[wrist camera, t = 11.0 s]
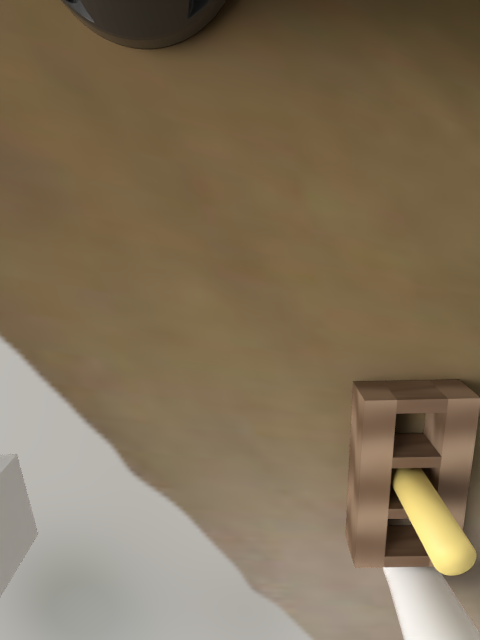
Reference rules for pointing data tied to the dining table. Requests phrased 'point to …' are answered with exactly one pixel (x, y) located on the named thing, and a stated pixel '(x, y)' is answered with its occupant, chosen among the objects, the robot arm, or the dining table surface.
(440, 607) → the drinking glass
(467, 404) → the hole block
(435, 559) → the peg
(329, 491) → the dining table surface
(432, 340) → the dining table surface
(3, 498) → the robot arm
